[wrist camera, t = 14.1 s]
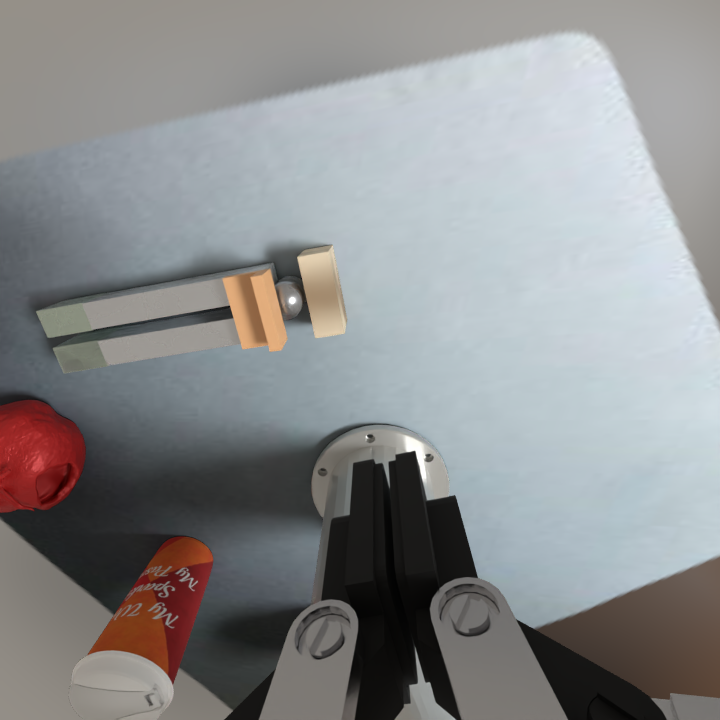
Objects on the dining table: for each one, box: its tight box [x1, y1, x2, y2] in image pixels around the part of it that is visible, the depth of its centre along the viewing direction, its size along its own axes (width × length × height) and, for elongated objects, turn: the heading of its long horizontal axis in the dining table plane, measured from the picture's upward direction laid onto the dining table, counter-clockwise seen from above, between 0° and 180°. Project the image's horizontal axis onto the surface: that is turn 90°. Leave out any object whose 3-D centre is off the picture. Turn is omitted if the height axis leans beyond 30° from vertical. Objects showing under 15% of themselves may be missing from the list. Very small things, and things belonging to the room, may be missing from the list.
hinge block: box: [297, 245, 347, 338], centre depth 34 cm, size 6×2×4 cm, turn 10°
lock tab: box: [222, 269, 287, 352], centre depth 31 cm, size 5×3×2 cm, turn 10°
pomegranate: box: [0, 400, 86, 512], centre depth 37 cm, size 10×10×9 cm
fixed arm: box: [53, 308, 241, 373], centre depth 36 cm, size 2×16×4 cm, turn 100°
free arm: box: [36, 263, 306, 338], centre depth 35 cm, size 4×19×3 cm, turn 100°
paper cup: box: [69, 536, 213, 720], centre depth 40 cm, size 8×8×14 cm
